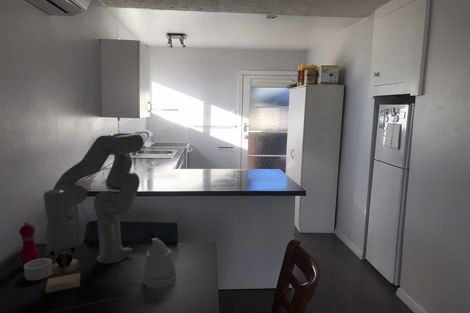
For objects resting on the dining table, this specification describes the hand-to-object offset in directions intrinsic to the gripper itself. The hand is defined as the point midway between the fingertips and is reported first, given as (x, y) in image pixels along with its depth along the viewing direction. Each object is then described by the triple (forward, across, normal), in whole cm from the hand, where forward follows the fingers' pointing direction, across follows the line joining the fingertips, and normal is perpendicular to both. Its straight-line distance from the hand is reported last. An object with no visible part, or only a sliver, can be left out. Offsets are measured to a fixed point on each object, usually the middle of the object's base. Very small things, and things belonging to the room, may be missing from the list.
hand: (65, 263), depth 139 cm
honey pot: (+9, -35, +14) cm, 39 cm away
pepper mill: (+8, +16, -25) cm, 31 cm away
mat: (+8, +1, +1) cm, 8 cm away
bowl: (+8, +11, -11) cm, 17 cm away
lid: (+2, 0, 0) cm, 2 cm away
